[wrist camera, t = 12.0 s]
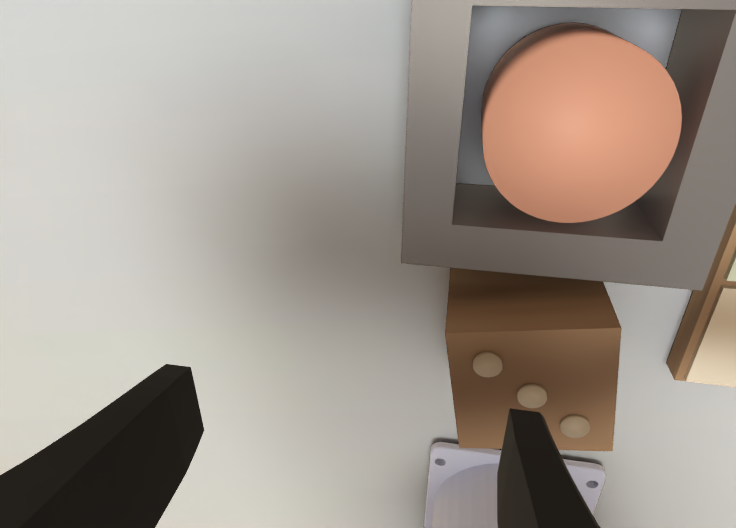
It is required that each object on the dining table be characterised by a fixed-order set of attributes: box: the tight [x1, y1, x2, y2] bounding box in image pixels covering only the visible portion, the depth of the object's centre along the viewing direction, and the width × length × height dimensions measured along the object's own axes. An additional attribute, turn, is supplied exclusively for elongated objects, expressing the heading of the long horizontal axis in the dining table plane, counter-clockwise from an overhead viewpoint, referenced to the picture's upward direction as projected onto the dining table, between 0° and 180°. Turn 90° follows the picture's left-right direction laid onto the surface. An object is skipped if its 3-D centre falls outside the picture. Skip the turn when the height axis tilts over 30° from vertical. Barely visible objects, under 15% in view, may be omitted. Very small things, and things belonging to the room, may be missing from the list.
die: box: [445, 268, 621, 451], centre depth 19 cm, size 5×5×5 cm
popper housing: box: [401, 0, 736, 290], centre depth 16 cm, size 9×9×4 cm
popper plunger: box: [482, 23, 682, 223], centre depth 15 cm, size 5×5×4 cm
